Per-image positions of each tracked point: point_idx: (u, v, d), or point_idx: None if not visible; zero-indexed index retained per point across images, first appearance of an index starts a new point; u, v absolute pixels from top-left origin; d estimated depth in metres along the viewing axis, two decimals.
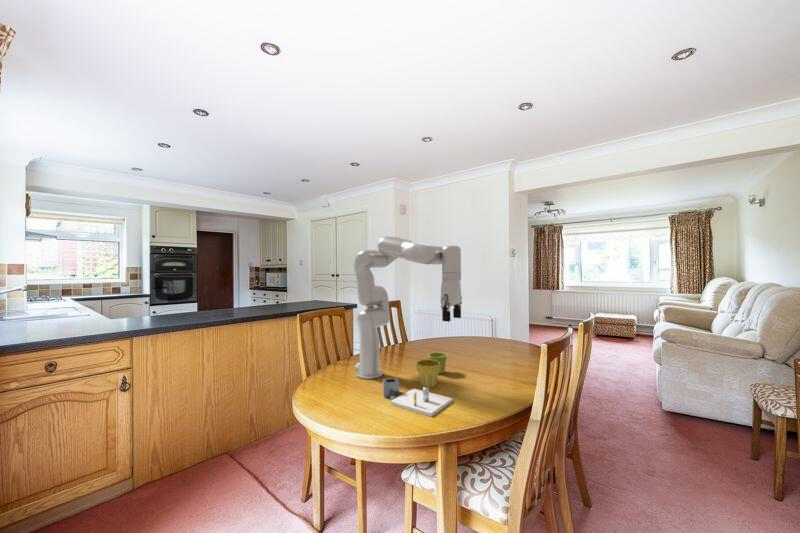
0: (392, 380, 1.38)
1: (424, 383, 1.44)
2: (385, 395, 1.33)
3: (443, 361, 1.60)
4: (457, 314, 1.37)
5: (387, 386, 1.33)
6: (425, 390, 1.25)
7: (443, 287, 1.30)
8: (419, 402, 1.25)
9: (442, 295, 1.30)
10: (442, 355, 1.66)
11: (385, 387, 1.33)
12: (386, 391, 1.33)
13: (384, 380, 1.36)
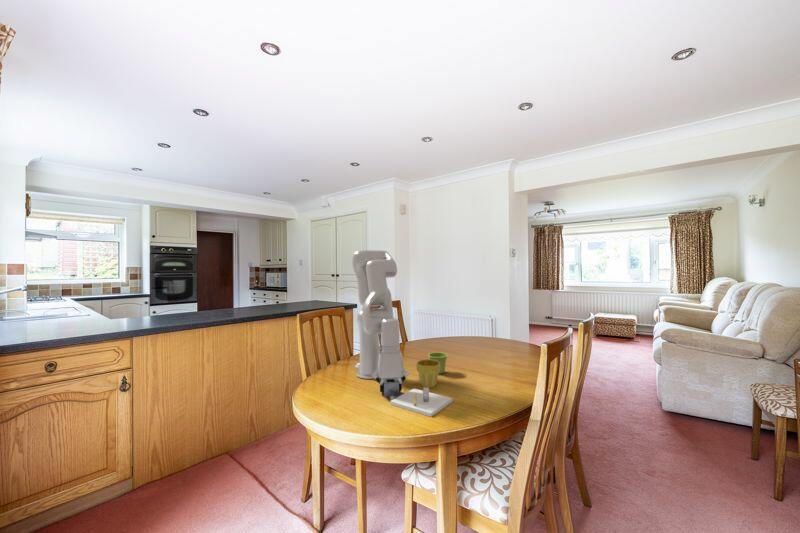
0: (392, 380, 1.38)
1: (424, 383, 1.44)
2: (385, 395, 1.33)
3: (443, 361, 1.60)
4: None
5: (387, 386, 1.33)
6: (425, 390, 1.25)
7: (402, 359, 1.36)
8: (419, 402, 1.25)
9: None
10: (442, 355, 1.66)
11: (385, 387, 1.33)
12: (386, 391, 1.33)
13: (384, 380, 1.36)
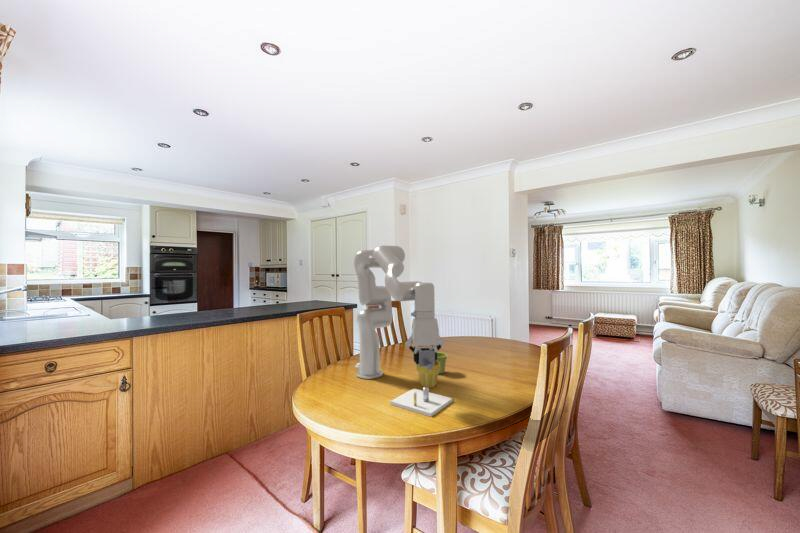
0: (426, 349, 1.28)
1: (424, 383, 1.44)
2: (420, 364, 1.23)
3: (443, 361, 1.60)
4: None
5: (422, 354, 1.23)
6: (425, 390, 1.25)
7: None
8: (419, 402, 1.25)
9: (438, 334, 1.25)
10: (442, 355, 1.66)
11: (420, 355, 1.23)
12: (421, 360, 1.23)
13: (418, 349, 1.26)
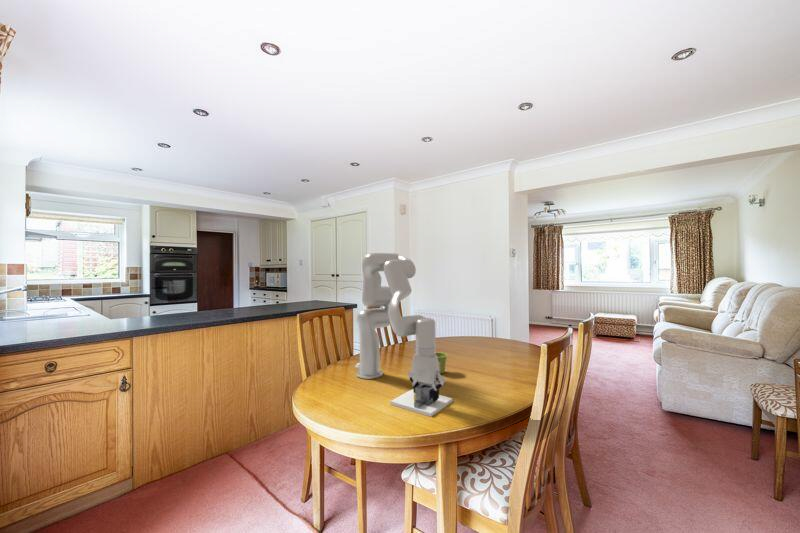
0: None
1: None
2: None
3: (443, 361, 1.60)
4: None
5: (418, 391, 1.24)
6: None
7: (435, 364, 1.22)
8: None
9: (435, 373, 1.22)
10: (442, 355, 1.66)
11: (416, 392, 1.25)
12: (417, 396, 1.24)
13: (421, 384, 1.28)
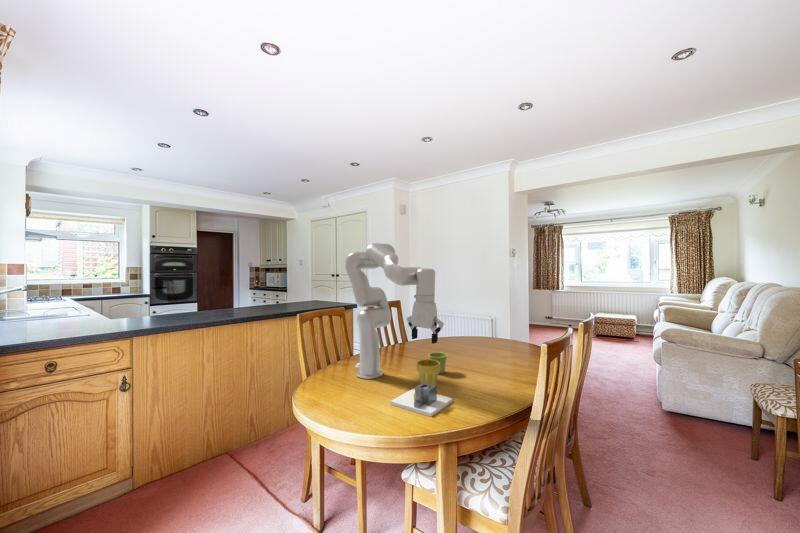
0: None
1: None
2: None
3: (443, 361, 1.60)
4: (415, 335, 1.38)
5: (418, 391, 1.24)
6: None
7: (433, 310, 1.31)
8: None
9: (433, 318, 1.31)
10: (442, 355, 1.66)
11: (416, 392, 1.25)
12: (417, 396, 1.24)
13: (421, 384, 1.28)
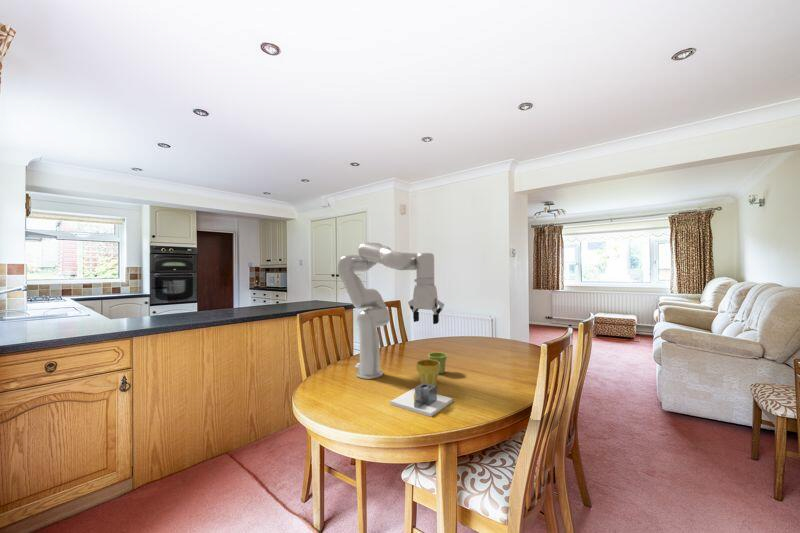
0: None
1: None
2: None
3: (443, 361, 1.60)
4: (417, 318, 1.44)
5: (418, 391, 1.24)
6: None
7: (434, 292, 1.37)
8: None
9: (434, 300, 1.37)
10: (442, 355, 1.66)
11: (416, 392, 1.25)
12: (417, 396, 1.24)
13: (421, 384, 1.28)
